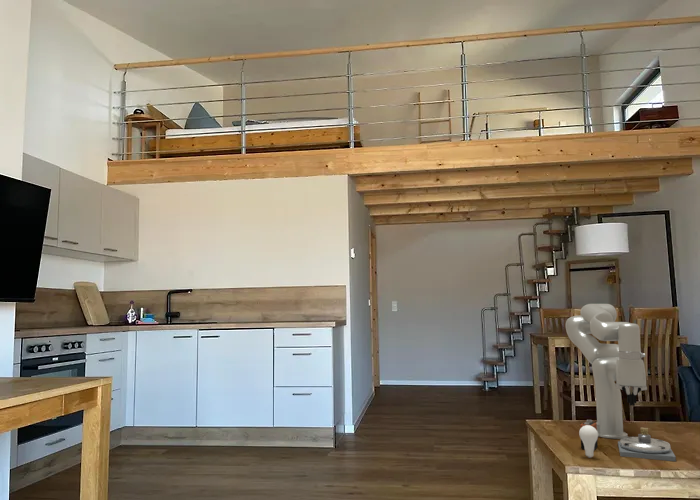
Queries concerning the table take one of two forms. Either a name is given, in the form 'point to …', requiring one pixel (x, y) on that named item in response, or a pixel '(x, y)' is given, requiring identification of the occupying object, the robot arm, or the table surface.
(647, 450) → the round tabbed tray
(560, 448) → the table surface
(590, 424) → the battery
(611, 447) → the table surface
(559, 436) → the table surface
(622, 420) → the robot arm
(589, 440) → the lightbulb
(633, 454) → the base plate
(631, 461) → the table surface
